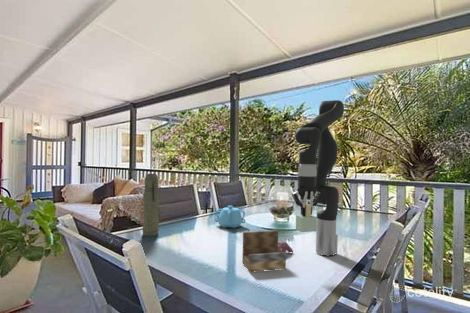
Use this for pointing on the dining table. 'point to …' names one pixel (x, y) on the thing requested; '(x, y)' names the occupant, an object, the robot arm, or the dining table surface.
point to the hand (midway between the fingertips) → (306, 215)
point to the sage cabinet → (306, 221)
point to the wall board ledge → (262, 251)
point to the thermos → (151, 206)
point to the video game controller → (284, 247)
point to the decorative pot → (230, 217)
